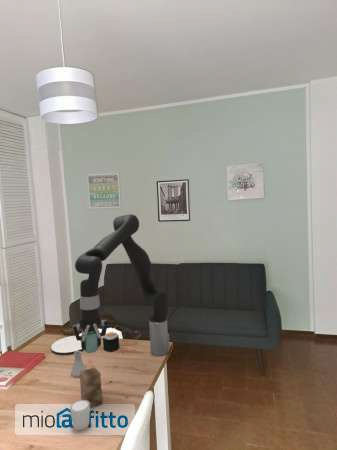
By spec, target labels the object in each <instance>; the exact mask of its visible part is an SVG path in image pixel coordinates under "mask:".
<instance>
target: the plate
mask: <svg viewBox="0 0 337 450" xmlns="http://www.w3.org/2000/svg"><path fill="white" fill-rule="evenodd" d="M50 349H51V351H53V352H54V353H57V354H70V353H74V352H76V351H81V350H83V349H82V347H81V341H80V340H79V341H77V339H76V336H75V335H70V336H67V337H63V338H59V339H57V340H56V341H54V342H53V343H52V345H51V347H50Z"/></svg>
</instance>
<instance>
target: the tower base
mask: <svg viewBox="0 0 337 450" xmlns="http://www.w3.org/2000/svg"><path fill="white" fill-rule="evenodd" d="M102 390H103V389H102V387H101V388H99V389H97V390H95V391H92V392H90V393H88V394H86V392H85V391H84V390H83V389H82V388H81V387H80V398H81V399H80V400H87V401H89V402H90V409H92V408H94V407H95V408H96V407H97V406H98V407H99V406H100V405H103V392H102Z"/></svg>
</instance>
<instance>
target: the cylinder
mask: <svg viewBox="0 0 337 450" xmlns="http://www.w3.org/2000/svg"><path fill="white" fill-rule="evenodd" d="M85 348H86V350H84V352H85V353H87V354H92V353H96V352H97V351H99V347H98V339H97V333H96V332H95V331H94V332H92V331H91V332H88V333H87V335H86V337H85Z"/></svg>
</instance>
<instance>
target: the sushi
mask: <svg viewBox="0 0 337 450" xmlns="http://www.w3.org/2000/svg"><path fill="white" fill-rule="evenodd" d="M119 335H120V334H118V333H117V332H112V331H110V332H107V333H106V335H105V336H102V346H103V347H102V348H103V351H104V352H108V353H113V352H116V351H118V350H119V349H120V337H119Z"/></svg>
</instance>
